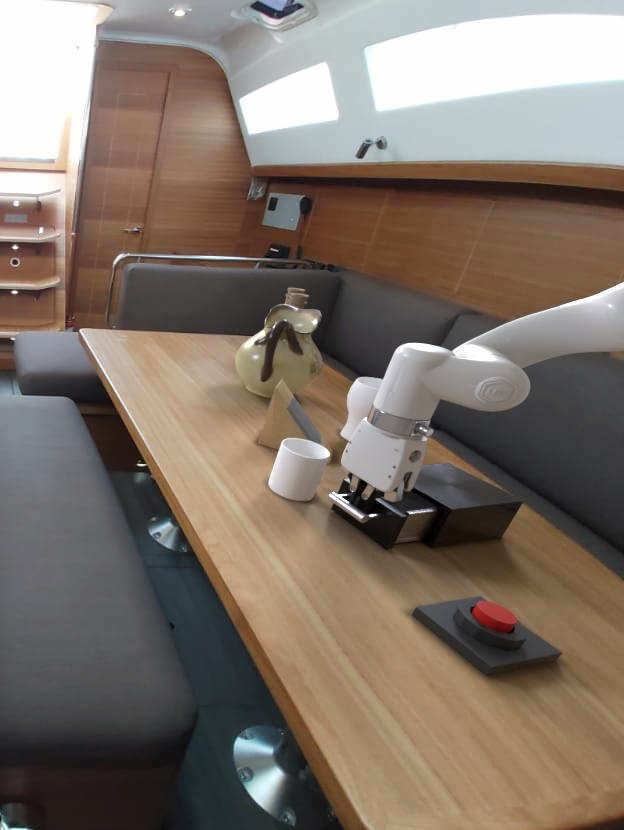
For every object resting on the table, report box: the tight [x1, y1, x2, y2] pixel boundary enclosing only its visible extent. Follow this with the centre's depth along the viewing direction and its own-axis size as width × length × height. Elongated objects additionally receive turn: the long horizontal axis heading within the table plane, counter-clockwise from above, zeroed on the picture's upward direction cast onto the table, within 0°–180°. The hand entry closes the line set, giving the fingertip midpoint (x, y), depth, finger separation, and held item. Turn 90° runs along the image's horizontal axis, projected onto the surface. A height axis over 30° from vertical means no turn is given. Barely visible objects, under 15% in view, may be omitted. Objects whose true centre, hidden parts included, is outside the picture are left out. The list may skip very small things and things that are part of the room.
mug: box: [268, 438, 330, 502], centre depth 101 cm, size 12×8×10 cm
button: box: [472, 600, 518, 633], centre depth 67 cm, size 4×4×2 cm
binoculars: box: [284, 287, 310, 309], centre depth 172 cm, size 21×10×25 cm, turn 155°
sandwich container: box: [257, 379, 333, 465], centre depth 115 cm, size 9×15×15 cm, turn 52°
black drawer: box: [327, 478, 444, 551], centre depth 89 cm, size 20×12×7 cm, turn 102°
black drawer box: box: [410, 462, 525, 549], centre depth 92 cm, size 16×13×9 cm
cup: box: [339, 376, 383, 441], centre depth 121 cm, size 11×11×15 cm
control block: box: [411, 595, 563, 677], centre depth 69 cm, size 12×10×4 cm
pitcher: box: [234, 303, 323, 399], centre depth 145 cm, size 22×24×25 cm
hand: (355, 513), depth 88 cm, fingers closed
